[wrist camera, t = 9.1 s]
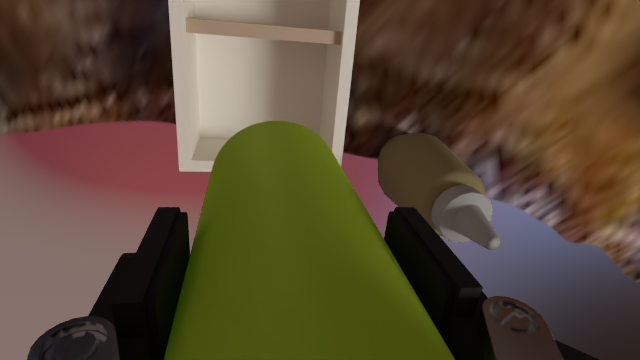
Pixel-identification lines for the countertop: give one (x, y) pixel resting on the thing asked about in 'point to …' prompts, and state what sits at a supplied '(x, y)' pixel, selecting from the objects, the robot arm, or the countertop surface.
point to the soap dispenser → (293, 263)
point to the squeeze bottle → (437, 188)
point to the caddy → (259, 70)
